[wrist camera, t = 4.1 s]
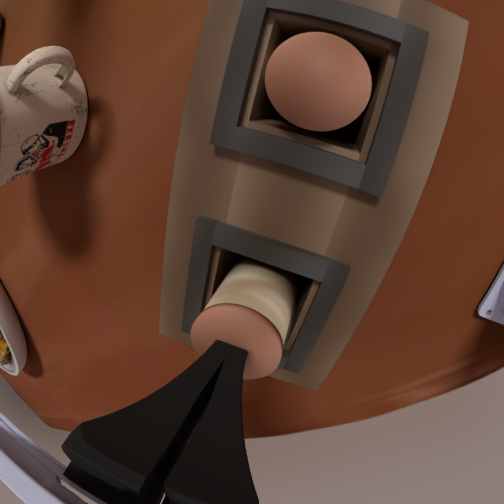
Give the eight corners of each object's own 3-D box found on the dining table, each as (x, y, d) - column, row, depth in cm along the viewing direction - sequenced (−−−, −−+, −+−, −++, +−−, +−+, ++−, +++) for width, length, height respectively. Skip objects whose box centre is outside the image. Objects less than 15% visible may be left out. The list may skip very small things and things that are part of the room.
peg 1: (308, 269, 16) (293, 331, 12) (286, 325, 18) (266, 389, 14) (234, 244, 16) (195, 296, 12) (221, 302, 18) (187, 359, 14)
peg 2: (369, 67, 13) (382, 50, 9) (350, 135, 15) (355, 145, 11) (295, 46, 14) (278, 22, 9) (277, 114, 16) (254, 115, 11)
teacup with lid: (51, 182, 22) (-55, 235, 12) (19, 105, 20) (-83, 134, 10) (136, 102, 17) (-22, 129, 7) (93, 14, 15) (-40, 4, 5)
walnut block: (439, 40, 11) (473, 18, 7) (323, 345, 22) (315, 398, 17) (250, -12, 12) (218, -47, 8) (187, 296, 23) (155, 338, 19)
